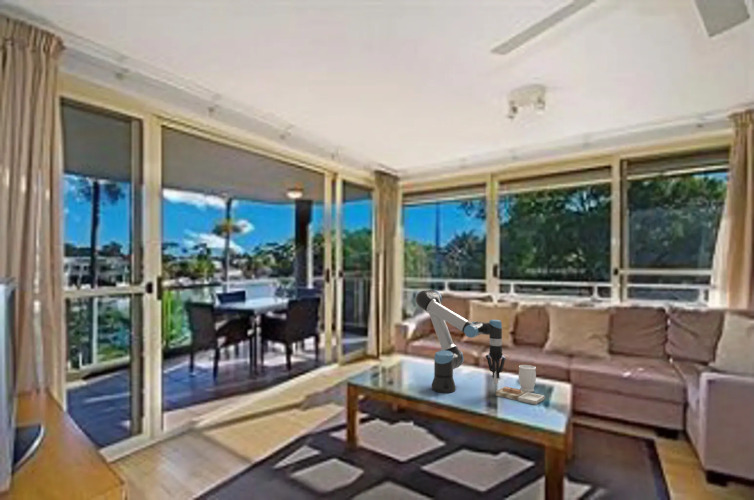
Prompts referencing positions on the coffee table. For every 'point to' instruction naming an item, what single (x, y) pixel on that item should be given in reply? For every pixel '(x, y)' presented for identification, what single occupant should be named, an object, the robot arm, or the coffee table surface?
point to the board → (508, 394)
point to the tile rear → (507, 389)
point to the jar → (527, 377)
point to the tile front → (515, 391)
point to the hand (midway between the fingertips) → (496, 383)
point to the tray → (531, 398)
